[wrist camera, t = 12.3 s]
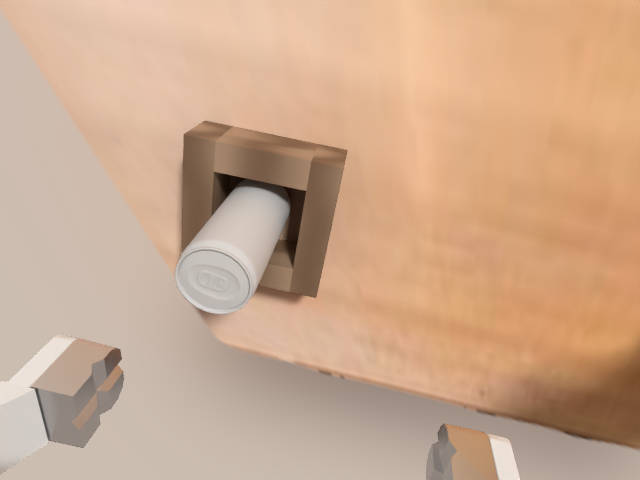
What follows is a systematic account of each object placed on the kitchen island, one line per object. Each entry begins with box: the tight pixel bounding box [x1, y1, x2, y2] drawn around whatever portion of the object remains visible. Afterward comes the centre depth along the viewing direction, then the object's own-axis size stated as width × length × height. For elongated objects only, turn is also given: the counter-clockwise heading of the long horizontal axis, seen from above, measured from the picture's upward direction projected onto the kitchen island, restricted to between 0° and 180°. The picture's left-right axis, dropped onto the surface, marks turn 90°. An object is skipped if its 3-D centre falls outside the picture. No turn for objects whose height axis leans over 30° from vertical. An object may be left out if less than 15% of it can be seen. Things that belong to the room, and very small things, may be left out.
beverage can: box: [175, 178, 291, 314], centre depth 30 cm, size 5×5×12 cm
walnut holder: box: [182, 121, 347, 298], centre depth 33 cm, size 11×11×4 cm
